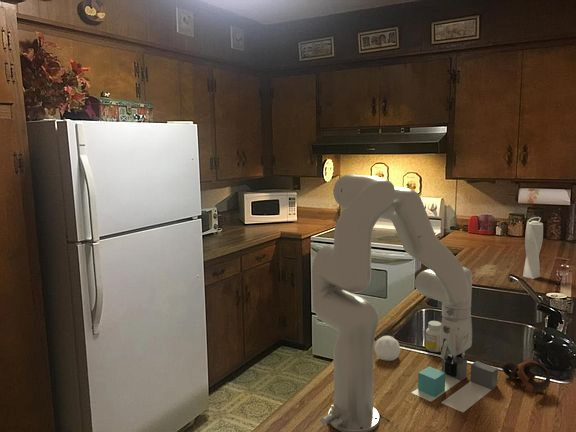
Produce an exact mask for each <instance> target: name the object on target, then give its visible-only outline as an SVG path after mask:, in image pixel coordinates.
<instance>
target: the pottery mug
mask: <svg viewBox="0 0 576 432" xmlns="http://www.w3.org/2000/svg"><path fill="white" fill-rule="evenodd" d="M532 368H539V369H540V371H542V372H544V374H545V379H544V380H543V381H535V377H536V376H537V373H534V372H533V371H531V369H532ZM501 369H502V372H503V373H504V374H505V375H506V376H507V377H508V378H509V380H511V381H513V380H516V379H518V378H519V379H520V380H521V382H522V383H523V384H524V385H525V388H524V389H523V391H526V392H530V393H540V392H544V391H545V390H547V388H548V387H549V386H550V384H551V375H550V371H549V369H547V367H546V366H545V365H543V364H541V363H540V362H538V361H534V360H525V361H523V362H521V363H518V364H517V363H514V362H512V361H504V362H503V363H502V365H501ZM529 380H533V382H532V383H531V382H529Z"/></svg>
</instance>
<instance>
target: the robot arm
mask: <svg viewBox="0 0 576 432" xmlns="http://www.w3.org/2000/svg"><path fill="white" fill-rule="evenodd" d="M332 190H333V193H332V194H333V197H334V200H335V202H336V204H338V205H339V206H340V207H341V208H344V209H343V211H342V212H341V214H340V215H339V217H338V218H337V221H336V223H335V225H334V231H333V236H334V237H333V244H328V245H324V246H323V247H321V248H320V249H319V250H318V251H317V252H316V254H315V255H314V259H313V262H312V266H311V267H312V268H311V278H312V281H311V282H312V301H313V302H312V305H313V309H314V313H315V315H316V316H317V318H318V319H319V320H320V322H321V321H322V322H323V323H324V324H325V325H328V326H329V327H331V328H332V329H334V330H335V331H338V338H337V340H336V341H335V344H334V346H333V404H331V407H330V408H329V410H328V412H327V414H326V415H324V416H323V417H321V418H320V423H321V425H322V426H324V427H326V426H327V425H331V427H333V428H334V429H335V430H338V431H339V432H372V431H373V430H375V429H377V427H378V426H379V425H380V414H379V412H378V410H377V409H376V408H375V407H374V347H375V338H376V332H377V329H378V328H377V327H378V323H379V321H378V320H379V315H378V312H377V309H376V307H375V306H374V305H373V304H372V303H371V302H370V301H369V300H367V299H365V298H364V297H361V296H360V295H357V294H358V293H362V292H364V291H365V290H367V288H368V287H369V285H370V284H371V280H372V278H371V277H372V234H373V231H374V228H375V226H376V224H377V222H378V221H379V220H380V218H381V219H386V220H388V221H389V220H390V221H391V222H392V224H393V227H394V229H395V231H396V233H397V236H398V238H399V240H400V242H401V244H402V245H401V246H402V248H403V250H404V251H405V252H406V253H407V254H408V255H409V256H411V258H413V259H414V260H416V261H417V262H418V263H421V264H422V265H423V266H425V267H426V268H427V269H424V270H422V271H420V272H419V273H418V274H417V275H416V277H415V281H414V286H415V289H416V291H417V292H418V293H419V294H421V295H422V296H424V297H426V298H429V299H433V300H436V301H438V302H441V316H442V318H441V322H440V323H441V331H440V350H441V351H442V352H440V356H439V357H440V359H442V358H443V359H444V361H445V374H447V375H450V376H452V377H456V365H457V364H456V363H455V359H456V356H457V357H460V358H462V359H465V355H466V354H465V352H466V351H467V350H469V349H470V348H471V347H472V345H473V344H472V343H473V323H472V322H473V321H472V316H471V311H472V292H473V290H472V289H473V288H472V287H473V272H472V270H471V269H469V268H468V267H465V266H463V265H462V264H461V262H460V260H459V259H458V258H457V256H455V254H454V253H452V251H451V250H449V248H448V247H447V246H446V245H445V244H444V243H443V242H442V241H441V240H440V239H439V238H438V237H437V236H436V233H435V231H434V228H433V226H432V224H431V221H430V219H429V218H430V217H429V215H428V213H427V210H426V208H425V205H424V202H423V200H422V198H421V196H420V194H419V192H417V191H416V190H414V189H411V188H408V187H402V186H395V185H394V184H393V183H392V181H390V180H388V179H386V178H384V177H380V176H375V175H361V174H349V173H348V174H344V175H343V176H341V177H339V178H337V180H336V181H335V183H334V184H333V189H332ZM356 293H357V294H356ZM448 354H450V355H452V358H451V356H448Z"/></svg>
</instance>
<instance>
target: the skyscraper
mask: <svg viewBox="0 0 576 432" xmlns="http://www.w3.org/2000/svg"><path fill="white" fill-rule="evenodd" d="M533 219H538V220H533ZM541 219H542V217H539V216H534V217H531V218H529V219H528V220H527V221H526V225H525V226H526V227H525V235H524V236H525V237H524V246H525V247H524V250H525V254H526V255H525V262H524V266H523V272H522V273H523V274H522V277H524V278H527V279H533V280H534V279H535V280H536V279H538V278H540V277H541V272H540V271H541V270H540V267H541V266H540V258H539V257H540V252H541V249H542V245H543V239H544V223H543V222H541Z"/></svg>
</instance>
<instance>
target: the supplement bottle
mask: <svg viewBox="0 0 576 432" xmlns="http://www.w3.org/2000/svg"><path fill="white" fill-rule="evenodd" d="M441 323H442V322H440V321H437V320H430V321H428V323H427V324H428V325H427V328H426V329H425V343H424V344H425V345H424V348H425V350H427V351H428V352H431V353H441V352H442V351H441V350H440V331H441Z"/></svg>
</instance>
